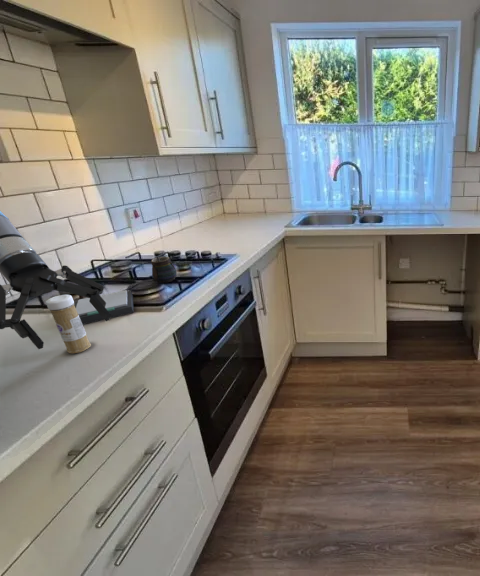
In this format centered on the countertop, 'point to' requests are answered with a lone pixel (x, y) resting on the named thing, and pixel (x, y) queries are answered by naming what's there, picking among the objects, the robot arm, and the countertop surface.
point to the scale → (115, 305)
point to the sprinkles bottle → (68, 323)
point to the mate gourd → (163, 270)
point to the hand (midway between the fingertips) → (77, 331)
